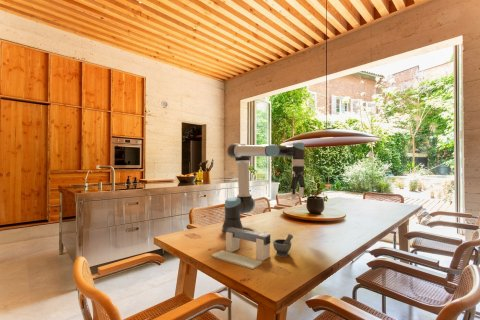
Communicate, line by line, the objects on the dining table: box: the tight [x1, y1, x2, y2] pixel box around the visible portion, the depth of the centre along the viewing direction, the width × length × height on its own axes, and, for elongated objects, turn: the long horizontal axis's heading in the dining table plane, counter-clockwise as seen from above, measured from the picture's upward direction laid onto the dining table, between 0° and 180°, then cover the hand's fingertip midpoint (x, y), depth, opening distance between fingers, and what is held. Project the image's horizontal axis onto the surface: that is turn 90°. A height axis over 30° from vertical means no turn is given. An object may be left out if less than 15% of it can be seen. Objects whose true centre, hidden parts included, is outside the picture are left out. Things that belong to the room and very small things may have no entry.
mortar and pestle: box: [272, 233, 294, 258], centre depth 132 cm, size 11×9×12 cm
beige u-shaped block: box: [255, 239, 271, 262], centre depth 128 cm, size 4×8×10 cm, turn 145°
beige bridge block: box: [225, 232, 240, 253], centre depth 139 cm, size 4×8×10 cm, turn 145°
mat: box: [211, 249, 263, 270], centre depth 125 cm, size 26×9×1 cm, turn 55°
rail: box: [225, 227, 271, 245], centre depth 134 cm, size 26×5×4 cm, turn 55°
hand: (297, 198), depth 159 cm, fingers open, 13 cm apart
